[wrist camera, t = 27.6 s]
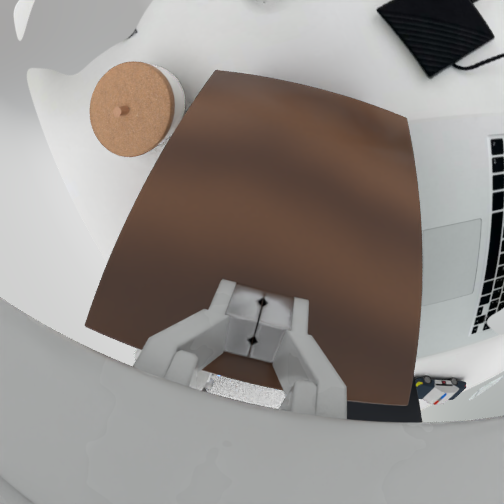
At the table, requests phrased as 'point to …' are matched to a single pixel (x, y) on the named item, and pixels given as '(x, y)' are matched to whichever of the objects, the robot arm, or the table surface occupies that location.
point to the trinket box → (136, 108)
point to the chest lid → (279, 229)
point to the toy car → (438, 389)
